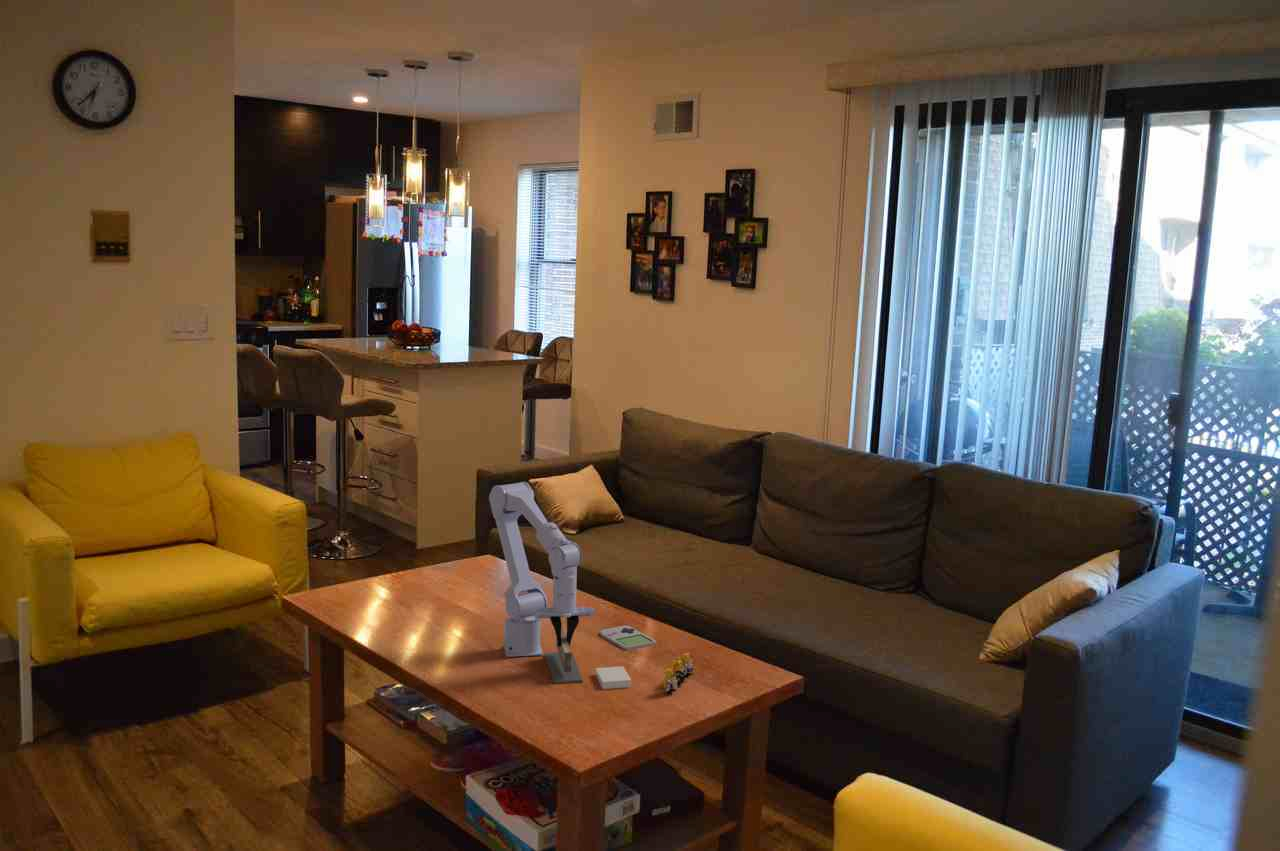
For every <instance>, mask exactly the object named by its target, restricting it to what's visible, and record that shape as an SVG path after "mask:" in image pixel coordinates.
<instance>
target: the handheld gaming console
mask: <svg viewBox="0 0 1280 851" xmlns="http://www.w3.org/2000/svg"><path fill="white" fill-rule="evenodd" d="M599 633H600V634H599V635H600V636H601V637H602V638H603V639H606V640H607V641H609V642H611V643H613V644H614V645H616V646H617V647H619V648H621V649H623V650H625V651H631V650H636V649H640V648H641V649H642V648H645V647H650V646H655V645H657V640H656V639H655V638H652V637H650V636H649V635H647V634H645V633H643V632H642V631H639V630H637V629H636V628H634V627H632V626H630V625H620V626H616V627H610V628H605V629H602V630H601V629H600V632H599Z"/></svg>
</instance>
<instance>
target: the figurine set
mask: <svg viewBox="0 0 1280 851" xmlns="http://www.w3.org/2000/svg"><path fill="white" fill-rule="evenodd" d="M693 658H694V657H693V653H692V652H689V651H687V652H685V653H684V654H682V656H678V657H676V658H675V660H672V661H671V662H669V665H668V666H669V668H667V669H665V671H664V676H665V677H664V678H663V679H664V680H663V682H664V684H663V687H664V689H665V691H666V695H667V694H668V695H673V692H671V691H676V690H678V689H677V688H678V687H681V688H682V686H681V683H683V682H686V680H687V679H688V678H689V679H690V676H688V675H692V674H694V673H693V672H694V669H693V668H694V665H693V663H694V662H693ZM692 676H693V675H692ZM685 678H687V679H685ZM689 679H688V680H689ZM683 684H684V683H683ZM677 686H678V687H677ZM676 692H677V691H676ZM668 695H667V696H668Z"/></svg>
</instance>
